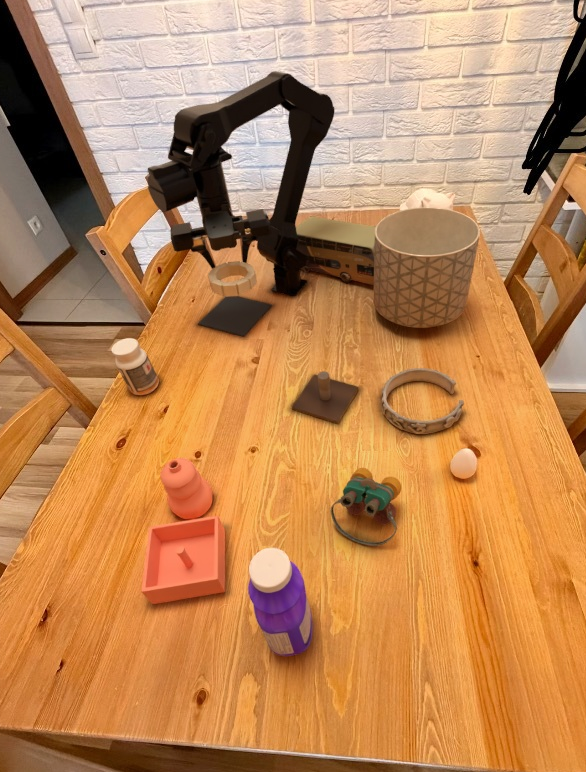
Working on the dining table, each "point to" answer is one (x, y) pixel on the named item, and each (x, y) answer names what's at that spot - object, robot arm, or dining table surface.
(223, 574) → the pottery
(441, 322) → the planter
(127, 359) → the pill bottle
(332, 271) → the toy bus
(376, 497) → the binoculars
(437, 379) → the bracelet
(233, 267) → the beige segmented ring
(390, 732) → the dining table surface
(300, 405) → the stand
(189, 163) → the robot arm
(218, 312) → the rubber mat
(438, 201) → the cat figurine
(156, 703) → the dining table surface
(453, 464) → the egg
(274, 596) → the bottle
